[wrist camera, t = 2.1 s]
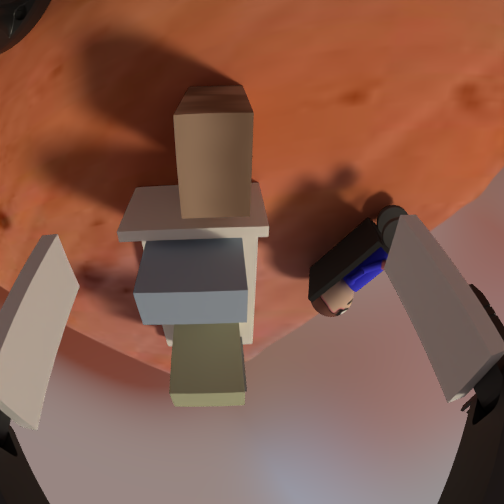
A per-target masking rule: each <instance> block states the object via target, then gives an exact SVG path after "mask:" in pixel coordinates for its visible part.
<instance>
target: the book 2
mask: <svg viewBox="0 0 504 504" xmlns="http://www.w3.org/2000/svg"><path fill="white" fill-rule="evenodd" d="M133 294H134V298H135V301H136V304H137V307H138V310H139V313H140V316H141V319H142V322H143V325H174V324H218V323H243V322H247V305H248V286H247V277H246V268H245V259H244V250H243V241H242V238H213V239H184V240H157V241H146V244H145V247H144V251H143V255H142V259H141V263H140V267H139V271H138V275H137V279H136V283H135V287H134V291H133Z"/></svg>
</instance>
